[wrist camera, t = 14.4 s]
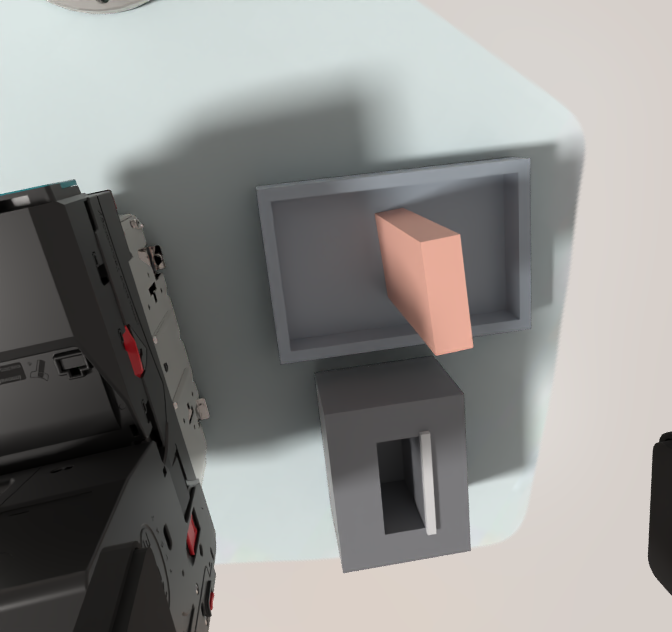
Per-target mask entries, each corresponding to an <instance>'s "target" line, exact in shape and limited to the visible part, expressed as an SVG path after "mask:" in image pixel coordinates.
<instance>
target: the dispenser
mask: <svg viewBox="0 0 672 632" xmlns="http://www.w3.org/2000/svg"><path fill="white" fill-rule="evenodd" d="M314 375H315V383H316V391H317V399H318V407H319V415H320V423H321V431H322V440H323V448H324V456H325V464H326V472H327V480H328V488H329V496H330V504H331V512H332V517H333V523H334V528H335V533H336V538H337V543H338V548H339V553H340V559H341V564H342V568H343V573H347V572H352V571H358V570H364V569H369V568H376V567H381V566H386V565H392V564H398V563H404V562H410V561H415V560H421V559H427V558H433V557H438V556H443V555H449V554H455V553H461V552H467V551H471V546H470V523H469V499H468V476H467V452H466V428H465V405H464V393H463V392H462V391H461V390H460V388H459V387H458V386H457V385H456V383H455V382H454V381H453V380H452V378H451V377H450V376H449V375H448V373H447V372H446V371H445V370H444V369H443V367H442V366H441V365H440V364H439V362H438V361H437V360H436V359H435V357H434V356H428V357H421V358H415V359H408V360H401V361H394V362H387V363H380V364H373V365H366V366H359V367H352V368H345V369H338V370H331V371H324V372H317V373H314Z"/></svg>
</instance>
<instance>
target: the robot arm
mask: <svg viewBox="0 0 672 632" xmlns="http://www.w3.org/2000/svg"><path fill="white" fill-rule="evenodd" d="M46 1H48V2H50V3H52V4H55V5H57V6H60V7H63V8H66V9H68V10H71V11H77V12H83V13H89V14H113V13H118V12H122V11H126V10H130V9H134V8H136V7H138V6H140V5H142V4H144V3H146V2H148V1H150V0H109V1H108V2H106V3H103V2H102V0H46ZM652 460H653V461H652V480H651V481H652V482H651V501H650V523H649V545H648V546H649V547H648V561H649V565H650V568H651V570H652V572H653V574H654V576H655V577H656V578H657V580H658V581H659V582H660V583H661V584H662V585H663V586H664V587H665V589H666V590H667V591H668V592H669V593H670V594H671V595H672V432H667V433H664V434H662V436H661V437H660V440H659V442H658V443H656V444H655V445H654V447H653V457H652ZM73 632H176V629H175V625H174V622H173V618H172V615H171V612H170V608H169V605H168V601H167V598H166V595H165V591H164V588H163V584H162V581H161V577H160V574H159V571H158V567H157V564H156V560H155V557H154V554H153V551H152V549H151V547H145V548H141V545H140V543H139V542H138V541H131V542H127V543H122V544H117V545H112V546H107V547H104V548H103V549H102V550H101V552H100V555H99V557H98V560H97V563H96V566H95V569H94V572H93V575H92V577H91V580H90V583H89V586H88V589H87V592H86V595H85V598H84V600H83V603H82V606H81V609H80V612H79V615H78V618H77V621H76V623H75V626H74V629H73Z"/></svg>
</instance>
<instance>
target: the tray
mask: <svg viewBox="0 0 672 632" xmlns="http://www.w3.org/2000/svg"><path fill="white" fill-rule="evenodd" d="M256 193H257V200H258V207H259V214H260V221H261V229H262V236H263V243H264V250H265V257H266V264H267V271H268V278H269V285H270V292H271V299H272V307H273V314H274V321H275V328H276V335H277V342H278V349H279V356H280V363H281V364H287V363H294V362H301V361H308V360H315V359H322V358H329V357H336V356H343V355H350V354H358V353H365V352H372V351H379V350H386V349H393V348H400V347H407V346H414V345H421V344H426V343H425V342H424V341H423V339H422V338H421V337H420V336H419V334H418V333H417V332H416V331H415V330H414V328H413V327H412V326H411V325H410V323H409V322H408V321H407V320H406V319H405V317H404V316H403V315H402V314H401V313H400V311H399V310H398V309H397V308H396V306H395V305H394V304H393V303H392V302H391V300H390V299H389V298H388V295H387V288H386V282H385V276H384V270H383V263H382V257H381V251H380V245H379V238H378V232H377V226H376V220H375V213H379V212H384V211H389V210H394V209H399V208H405V209H407V210H409V211H411V212H413V213H416V214H418V215H420V216H422V217H424V218H426V219H428V220H431V221H433V222H435V223H437V224H439V225H441V226H443V227H446V228H448V229H450V230H452V231H454V232H456V233H458V234H460V237H461V246H462V254H463V263H464V271H465V280H466V288H467V297H468V306H469V314H470V323H471V331H472V337H477V336H484V335H491V334H498V333H505V332H512V331H519V330H526V329H531V212H530V158H520V157H506V158H498V159H489V160H480V161H472V162H463V163H454V164H445V165H437V166H428V167H419V168H411V169H402V170H393V171H385V172H376V173H367V174H359V175H350V176H341V177H332V178H324V179H315V180H306V181H298V182H289V183H280V184H272V185H263V186H256Z"/></svg>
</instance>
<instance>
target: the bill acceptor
mask: <svg viewBox="0 0 672 632" xmlns="http://www.w3.org/2000/svg"><path fill="white" fill-rule="evenodd" d="M73 185H77V183H76V180H75V179H73V180H68V181H63V182H57V183H52V184H47V185H42V186H38V187H33V188H28V189H23V190H18V191H14V192H9V193H4V194H0V632H73V629H74V626H75V623H76V621H77V618H78V615H79V612H80V609H81V606H82V603H83V600H84V598H85V595H86V592H87V589H88V586H89V583H90V580H91V577H92V575H93V572H94V569H95V566H96V563H97V560H98V557H99V555H100V552H101V550H102V549H103V548H104V547H107V546H112V545H117V544H122V543H127V542H131V541H138V542H139V543H140V545H141V548H145V547H151V549H152V551H153V554H154V557H155V560H156V564H157V567H158V571H159V574H160V577H161V581H162V584H163V588H164V591H165V595H166V598H167V601H168V605H169V608H170V612H171V615H172V618H173V622H174V625H175V629H176V632H208V630H209V622H210V617H211V610H212V608H213V598H214V593H213V591H214V584H215V577H216V573H215V570H214V562H215V554H216V533H215V529H214V526H213V523H212V520H211V516H210V513H209V510H208V507H207V503H206V500H205V497H204V494H203V491H202V482H203V477H204V472H205V467H206V451H207V443H206V439H205V436H204V433H203V429H202V426H201V423H200V422H198V421H199V420H203V419H207V418H209V417H210V414H209V410H208V407H207V404H206V400H205V398H200V399H198V398H199V393H198V390H197V387H196V383H195V382H193V373H192V370H191V366H190V363H189V360H188V356H187V353H186V349H185V346H184V343H183V340H180V329H179V326H178V322H177V319H176V316H175V312H174V309H173V305H172V302H171V299H170V296H168V295H167V285H166V282H165V278H164V275H163V273H159V274H158V273H157V271H156V270H158V269H163V268H166V263H165V261H164V257H163V254H162V250H161V247H160V245H154V246H149V247H145V245H147V242H146V239H145V236H144V232H143V229H142V228H144V225H143V224H141V222H140V221H139V219H138V218H136V215H132V214H123V215H118V212H117V207H116V204H115V201H114V198H113V195H112V192H111V190H105V191H100V192H95V193H90V194H85V193H82V194H81V192H80V190H79V187H78V185H77V186H73ZM71 186H72V187H71Z"/></svg>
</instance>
